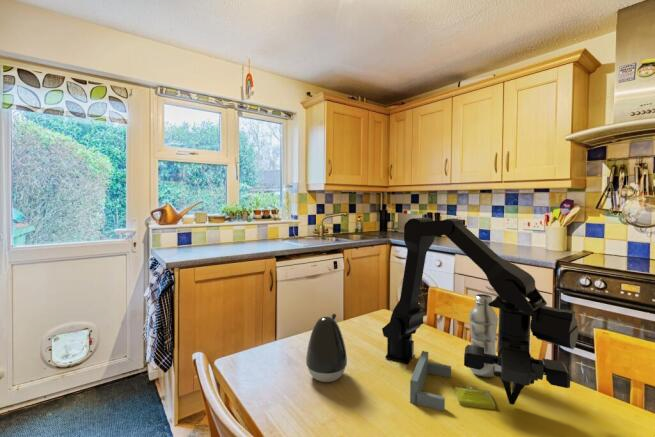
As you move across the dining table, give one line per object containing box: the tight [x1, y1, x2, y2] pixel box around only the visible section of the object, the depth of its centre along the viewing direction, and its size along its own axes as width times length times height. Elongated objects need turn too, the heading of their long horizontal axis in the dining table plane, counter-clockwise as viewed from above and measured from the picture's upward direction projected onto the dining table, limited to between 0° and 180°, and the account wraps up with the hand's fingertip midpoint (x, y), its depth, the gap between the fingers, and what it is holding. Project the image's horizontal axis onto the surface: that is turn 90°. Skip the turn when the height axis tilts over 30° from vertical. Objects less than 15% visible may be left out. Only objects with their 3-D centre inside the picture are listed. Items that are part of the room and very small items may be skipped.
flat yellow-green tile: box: [454, 384, 497, 410], centre depth 71 cm, size 10×9×3 cm
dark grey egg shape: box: [305, 313, 348, 383], centre depth 80 cm, size 10×10×15 cm
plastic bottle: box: [468, 293, 499, 378], centre depth 81 cm, size 6×7×20 cm
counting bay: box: [409, 350, 452, 412], centre depth 75 cm, size 7×15×5 cm, turn 154°
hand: (511, 403), depth 68 cm, fingers closed
